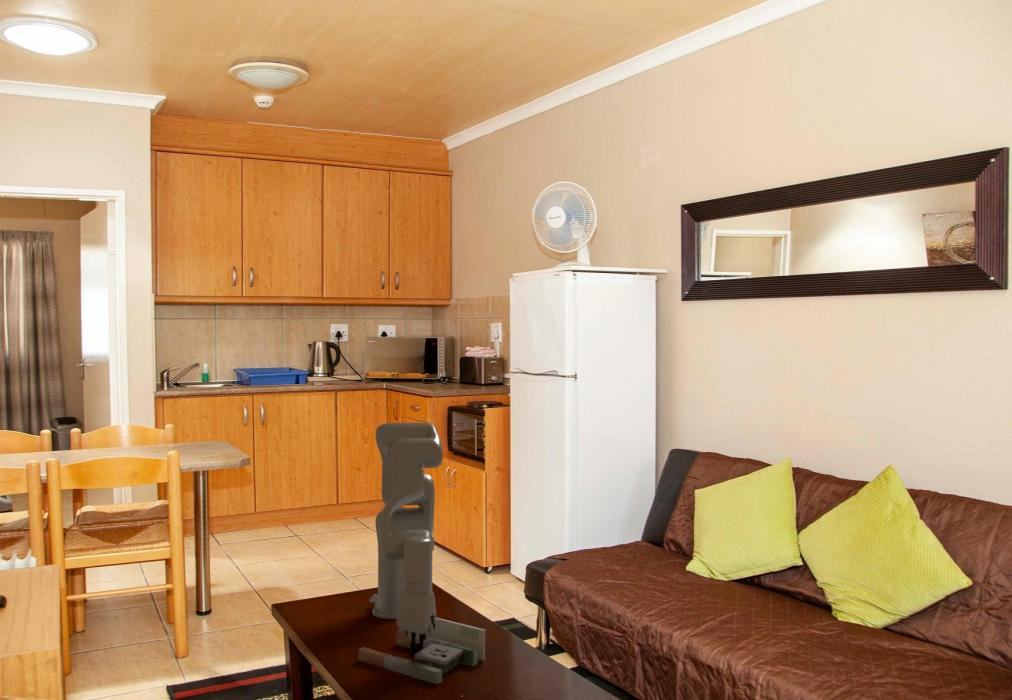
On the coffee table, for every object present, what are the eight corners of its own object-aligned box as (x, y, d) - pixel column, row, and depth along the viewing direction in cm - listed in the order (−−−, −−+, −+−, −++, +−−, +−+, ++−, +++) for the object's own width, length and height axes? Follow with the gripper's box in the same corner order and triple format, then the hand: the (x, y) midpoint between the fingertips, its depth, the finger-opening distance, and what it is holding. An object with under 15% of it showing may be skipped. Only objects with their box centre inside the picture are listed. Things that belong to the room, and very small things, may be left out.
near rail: (358, 660, 222) (358, 649, 222) (363, 658, 224) (363, 647, 224) (436, 684, 208) (436, 672, 207) (441, 682, 209) (442, 669, 209)
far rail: (396, 644, 234) (396, 630, 234) (401, 642, 236) (401, 628, 236) (473, 666, 219) (473, 650, 219) (477, 664, 221) (477, 648, 221)
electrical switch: (446, 662, 213) (414, 648, 217) (442, 681, 213) (411, 667, 217) (464, 649, 221) (434, 637, 225) (461, 669, 221) (431, 655, 226)
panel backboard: (406, 640, 238) (407, 611, 238) (409, 639, 238) (409, 610, 238) (482, 661, 223) (483, 630, 223) (485, 660, 224) (485, 629, 224)
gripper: (385, 583, 223) (385, 654, 223) (430, 594, 214) (429, 668, 214) (405, 577, 229) (404, 646, 229) (449, 587, 220) (448, 659, 221)
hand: (416, 656), depth 222 cm, fingers closed
